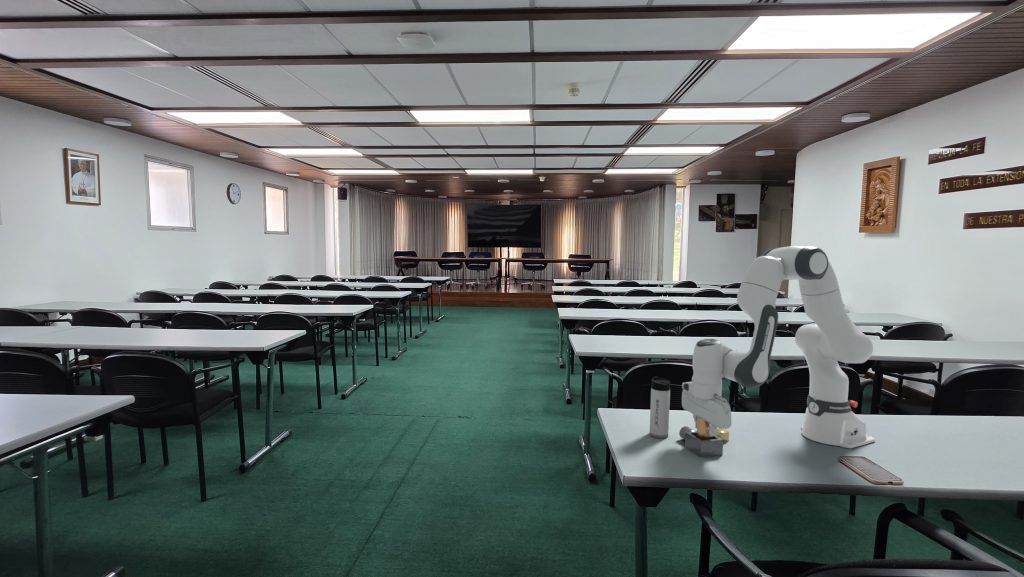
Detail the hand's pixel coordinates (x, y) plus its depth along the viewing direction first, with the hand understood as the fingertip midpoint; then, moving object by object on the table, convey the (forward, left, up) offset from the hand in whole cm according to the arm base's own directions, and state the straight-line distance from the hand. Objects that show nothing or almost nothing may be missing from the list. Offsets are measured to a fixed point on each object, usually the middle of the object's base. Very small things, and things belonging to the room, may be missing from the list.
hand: (704, 432), depth 150 cm
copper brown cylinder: (0, 0, -5) cm, 5 cm away
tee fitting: (0, -3, -6) cm, 7 cm away
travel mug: (+7, -15, -6) cm, 18 cm away
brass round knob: (-12, -7, -6) cm, 15 cm away
